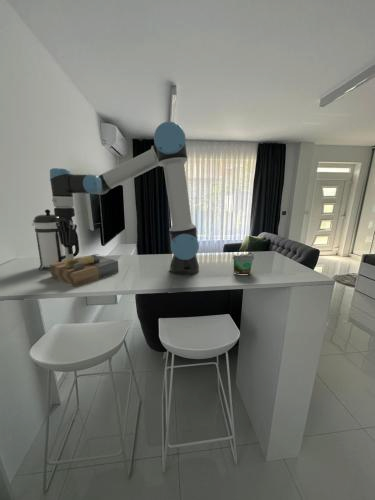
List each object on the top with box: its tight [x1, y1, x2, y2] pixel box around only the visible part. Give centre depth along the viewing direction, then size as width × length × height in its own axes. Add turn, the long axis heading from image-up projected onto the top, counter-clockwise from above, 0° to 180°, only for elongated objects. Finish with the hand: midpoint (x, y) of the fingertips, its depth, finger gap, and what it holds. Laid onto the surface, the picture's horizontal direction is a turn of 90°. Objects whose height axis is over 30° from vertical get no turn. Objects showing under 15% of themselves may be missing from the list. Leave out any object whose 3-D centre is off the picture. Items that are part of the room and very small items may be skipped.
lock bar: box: [64, 254, 100, 268], centre depth 96 cm, size 15×4×3 cm, turn 138°
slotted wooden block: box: [49, 254, 120, 287], centre depth 101 cm, size 20×22×9 cm
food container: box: [232, 251, 255, 275], centre depth 105 cm, size 12×6×10 cm, turn 123°
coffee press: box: [31, 209, 80, 271], centre depth 109 cm, size 17×16×30 cm
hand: (69, 260), depth 95 cm, fingers closed
